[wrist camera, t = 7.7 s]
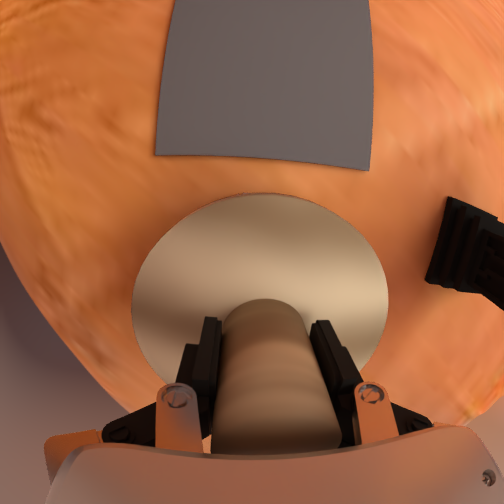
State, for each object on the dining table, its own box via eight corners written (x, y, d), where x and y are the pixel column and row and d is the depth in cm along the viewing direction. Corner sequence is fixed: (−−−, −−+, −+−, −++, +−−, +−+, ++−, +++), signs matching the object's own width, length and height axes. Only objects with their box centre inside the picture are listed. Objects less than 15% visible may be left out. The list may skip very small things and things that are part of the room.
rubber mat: (183, -21, 13) (181, -24, 12) (365, -2, 13) (367, -5, 13) (157, 155, 18) (155, 155, 17) (365, 170, 18) (369, 171, 18)
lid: (130, 189, 12) (11, 230, 4) (399, 206, 12) (518, 257, 5) (155, 394, 16) (128, 491, 8) (347, 397, 16) (381, 486, 9)
